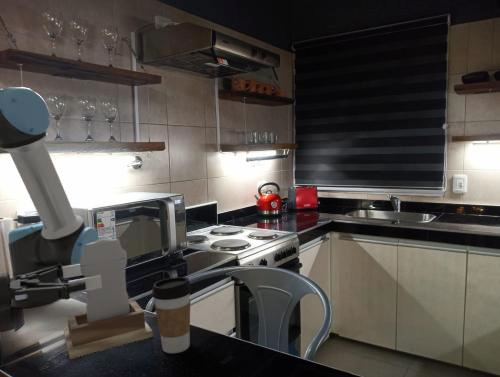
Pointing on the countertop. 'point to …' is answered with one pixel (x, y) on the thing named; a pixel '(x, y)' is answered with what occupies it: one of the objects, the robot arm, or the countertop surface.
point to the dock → (105, 331)
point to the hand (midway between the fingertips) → (96, 273)
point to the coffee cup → (173, 313)
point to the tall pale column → (105, 279)
